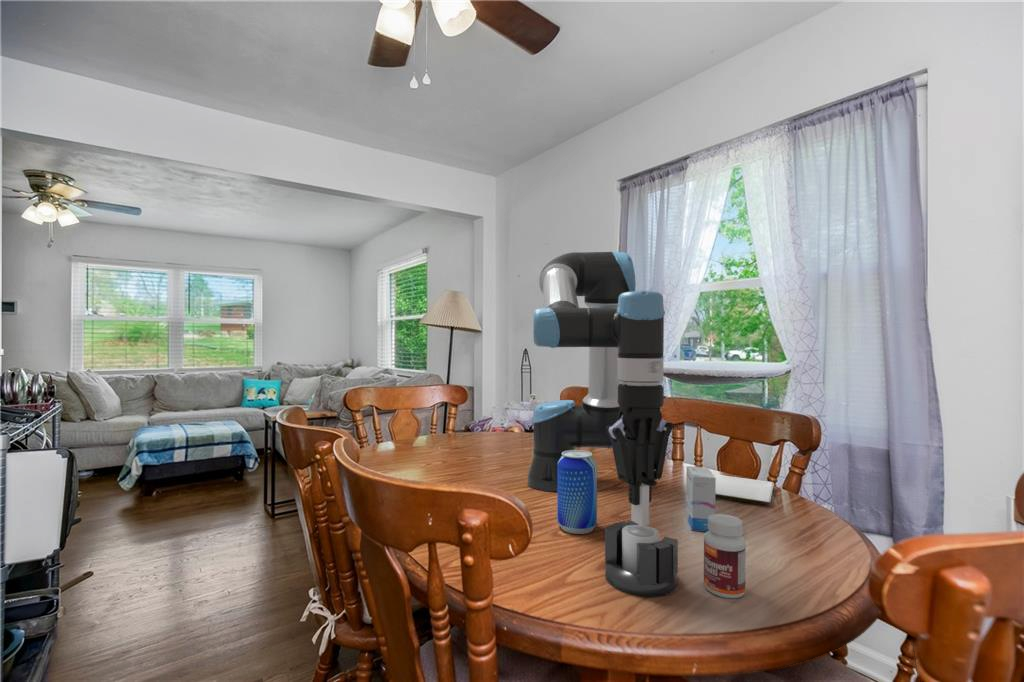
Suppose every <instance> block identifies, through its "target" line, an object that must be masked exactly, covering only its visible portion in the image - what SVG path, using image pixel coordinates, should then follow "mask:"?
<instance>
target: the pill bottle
mask: <svg viewBox="0 0 1024 682" xmlns="http://www.w3.org/2000/svg"><path fill="white" fill-rule="evenodd" d="M707 526H708V529H709V531H708V532H707V531H705V533H704V537H703V539H704V540H703V585H704V587H705V588H706V590H707V591H709V592H710V593H712V594H713V595H715V596H718V597H721V598H725V599H738V598H741V597H743V596H744V595H745V593H746V585H747V584H746V558H747V557H746V541H745V539H744V537H743V536H742V534H743V532H744V531H743V521H742V520H741V519H740V518H738V517H737V516H733V515H729V514H723V513H715V514H713V515H710V516H708V525H707Z"/></svg>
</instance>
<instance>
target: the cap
mask: <svg viewBox="0 0 1024 682" xmlns="http://www.w3.org/2000/svg"><path fill="white" fill-rule="evenodd" d="M655 542H660V531H659V530H657V529H656V528H654V527H653V526H649V525H645V526H641V525H628V526H625V527H624V528H623V529H622V567H623V569H624V570H626V571H627V572H629V573H631V574H635V575H637V543H655Z"/></svg>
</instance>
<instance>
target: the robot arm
mask: <svg viewBox="0 0 1024 682" xmlns="http://www.w3.org/2000/svg"><path fill="white" fill-rule="evenodd" d="M538 284H539V288H540V291H541V293H542V295H543V296H542V297H543V299H542V300H543V303H542V305H543V306H542V308H541V307H540V308H536V309H535V310H534V312H533V324H532V326H533V327H532V328H533V331H532V332H533V343H534V345H535V346H536V347H545V348H546V347H547V348H551V349H556V348H588V349H589V351H588V393H587V395H586V396H584V398H583V397H582V405H576V402H575V401H574V400H573V399H572V400H571V399H560V400H551V401H547V402H541V403H539V404H537V405H536V406H535V407H534V409H533V419H532V423H533V457H532V460H531V463H530V466H529V469H528V473H527V475H526V476H527V477H526V478H527V479H526V481H527V482H526V483H527V486H529V487H530V488H533V489H536V490H539V491H543V492H544V491H545V492H557V477H558V461H559V460H560V458H561V456H562V452H564V451H568V450H576V449H575V448H601V449H602V448H603V449H611V448H612V452H613V457H614V462H615V468H616V472H617V473H616V474H617V478H618V480H620V481H621V482H623V483H626V484H628V502H629V504H631V510H630V512H631V517H630V518H631V520H630V521H633V522H635V523H637V524H639V525H641V526H649V525H650V503H652V498H653V497H652V496H653V495H652V492H653V487H654V486H657V483H658V482H657V481H656V480H660V479H662V477H663V472H664V465H665V460H666V456H667V455H666V454H667V450H668V444H669V438H670V435H671V433H672V430H673V429H674V423H672V422H671V421H667V420H665V419H664V418H663V413H662V411H661V408H662V407H664V403H665V402H664V399H665V398H664V396H665V395H664V392H665V391H664V388H665V387H664V386H663V384H660V383H662V382H663V381H664V346H665V345H664V337H665V334H664V333H665V331H664V330H665V329H664V327H665V321H664V320H665V319H664V318H665V314H666V312H665V307H664V296H663V295H662V293H660V292H659V291H653V290H638V291H637V290H636V287H637V284H636V273H635V267H634V263H633V260H632V257H631V255H630V254H628V253H627V252H623V251H621V252H620V251H613V250H612V251H595V252H594V251H591V252H589V251H587V252H585V251H584V252H579V251H574V252H572V251H571V252H568V253H564V254H562V255H559V256H556V257H555V258H553V259H551V261H549V262H548V263H547V264H546V265H545V266H544V267H543V268H542V271H541V272H540V274H539V281H538ZM578 297H584V304H585V305H586V306H587V307H579V302H578Z"/></svg>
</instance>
